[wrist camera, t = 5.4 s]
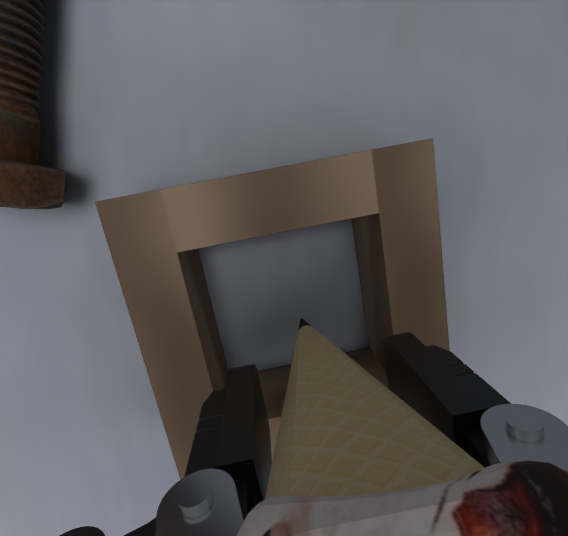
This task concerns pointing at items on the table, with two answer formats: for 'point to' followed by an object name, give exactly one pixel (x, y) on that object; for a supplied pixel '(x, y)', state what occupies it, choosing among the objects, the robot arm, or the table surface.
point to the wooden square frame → (263, 221)
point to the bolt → (23, 111)
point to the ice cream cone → (387, 465)
